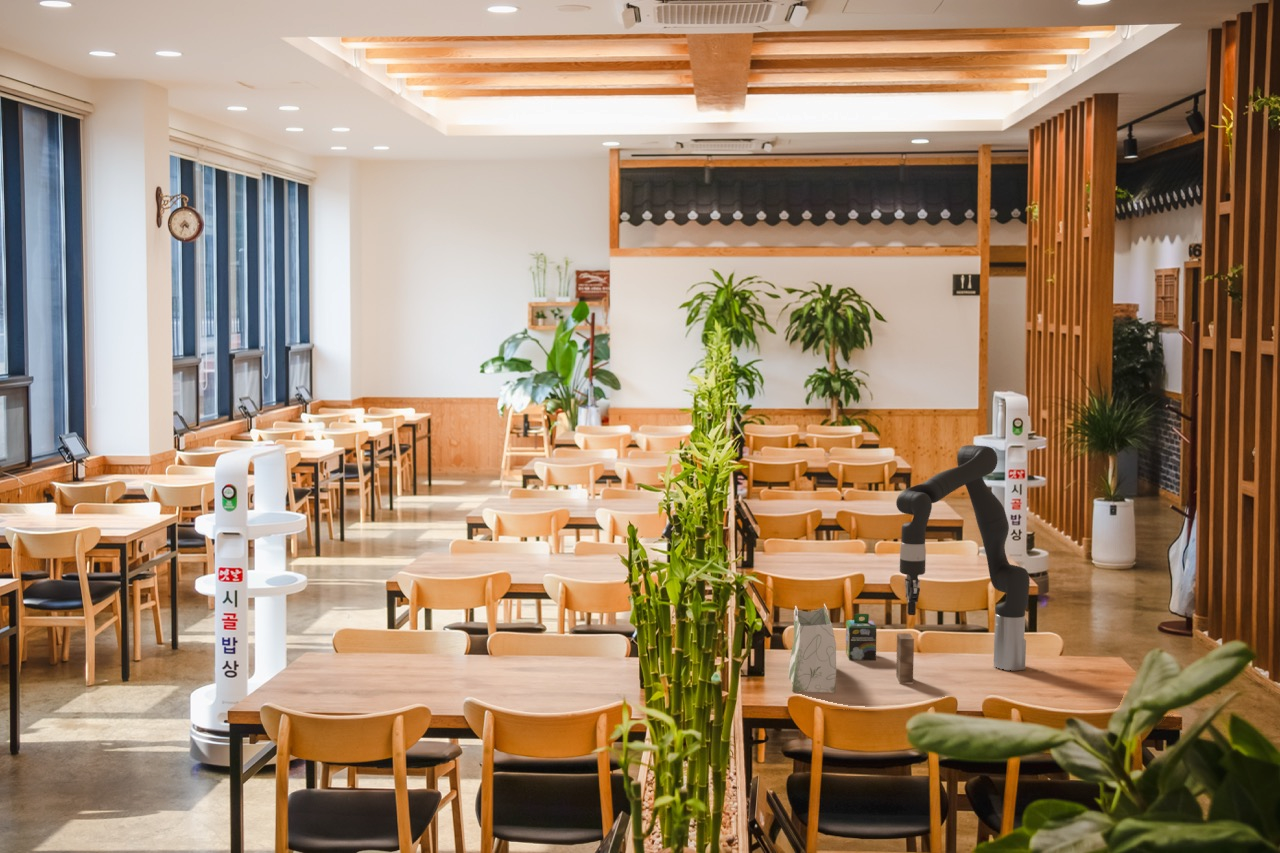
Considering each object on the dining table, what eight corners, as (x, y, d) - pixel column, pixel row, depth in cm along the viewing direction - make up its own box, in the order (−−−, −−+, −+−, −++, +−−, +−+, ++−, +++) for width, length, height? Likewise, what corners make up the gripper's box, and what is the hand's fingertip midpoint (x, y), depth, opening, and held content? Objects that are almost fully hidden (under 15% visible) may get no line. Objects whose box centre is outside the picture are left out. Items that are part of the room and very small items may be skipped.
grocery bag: (786, 663, 422) (787, 593, 420) (829, 664, 421) (831, 594, 419) (790, 692, 390) (791, 615, 388) (836, 693, 389) (838, 617, 387)
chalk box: (872, 653, 435) (873, 609, 434) (876, 660, 426) (877, 616, 425) (844, 653, 435) (845, 609, 434) (848, 660, 426) (849, 615, 425)
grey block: (909, 677, 406) (910, 633, 405) (912, 683, 399) (913, 639, 398) (896, 677, 406) (897, 633, 405) (899, 683, 399) (900, 638, 398)
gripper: (929, 562, 383) (927, 619, 385) (921, 553, 396) (920, 609, 398) (903, 561, 383) (902, 619, 385) (896, 553, 397) (895, 609, 398)
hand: (911, 614), depth 391 cm, fingers closed
